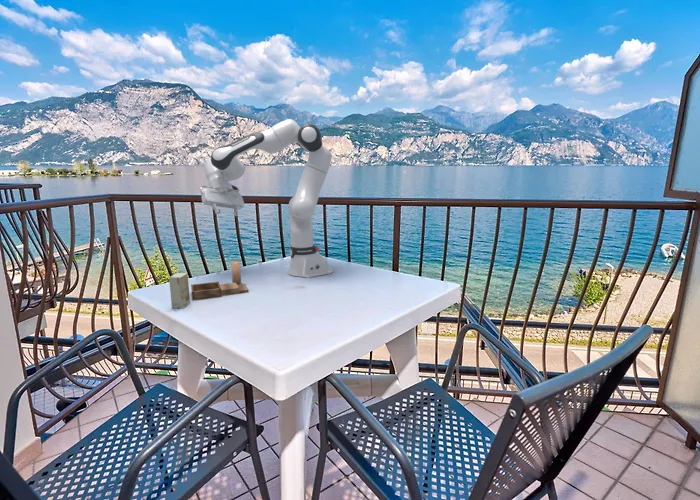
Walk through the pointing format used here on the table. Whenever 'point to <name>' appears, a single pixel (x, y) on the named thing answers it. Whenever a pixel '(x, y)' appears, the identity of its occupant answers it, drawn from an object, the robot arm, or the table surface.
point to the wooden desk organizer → (216, 290)
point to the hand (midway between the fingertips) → (227, 214)
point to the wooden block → (236, 272)
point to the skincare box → (179, 290)
